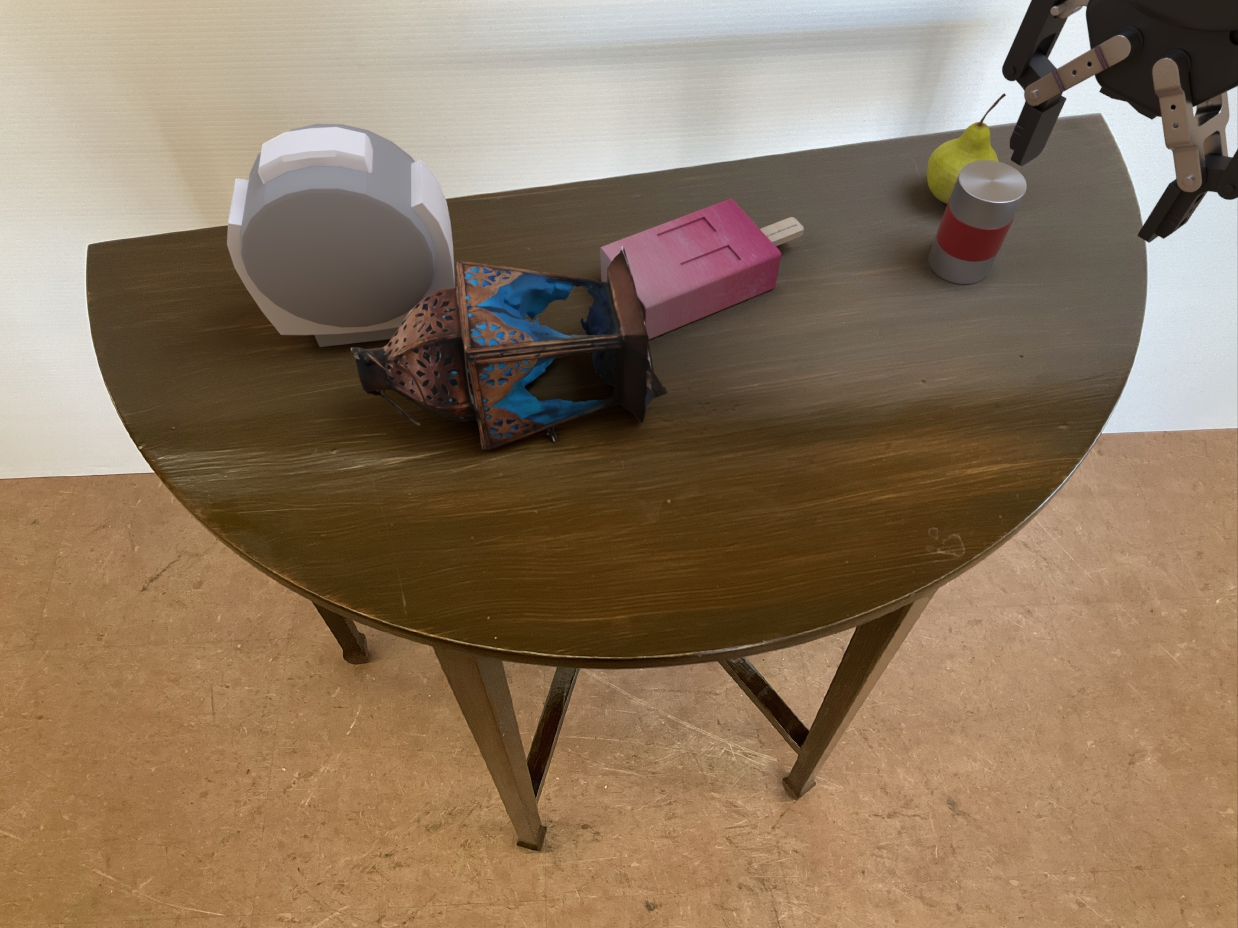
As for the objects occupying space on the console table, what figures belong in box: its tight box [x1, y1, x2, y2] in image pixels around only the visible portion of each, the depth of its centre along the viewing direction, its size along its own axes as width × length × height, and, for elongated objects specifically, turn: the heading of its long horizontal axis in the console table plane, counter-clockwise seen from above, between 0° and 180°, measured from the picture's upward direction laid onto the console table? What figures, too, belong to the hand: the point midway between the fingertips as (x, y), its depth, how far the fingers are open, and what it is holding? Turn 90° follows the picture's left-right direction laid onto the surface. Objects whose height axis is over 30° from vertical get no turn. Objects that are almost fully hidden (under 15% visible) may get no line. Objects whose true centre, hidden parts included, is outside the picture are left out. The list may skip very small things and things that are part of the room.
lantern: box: [350, 246, 668, 452], centre depth 73 cm, size 16×16×25 cm
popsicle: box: [599, 198, 804, 340], centre depth 84 cm, size 9×5×20 cm
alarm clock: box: [226, 123, 456, 348], centre depth 75 cm, size 18×8×20 cm, turn 98°
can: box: [927, 160, 1028, 285], centre depth 82 cm, size 6×6×10 cm
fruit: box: [926, 92, 1007, 205], centre depth 86 cm, size 7×7×12 cm
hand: (1085, 194), depth 49 cm, fingers open, 8 cm apart
